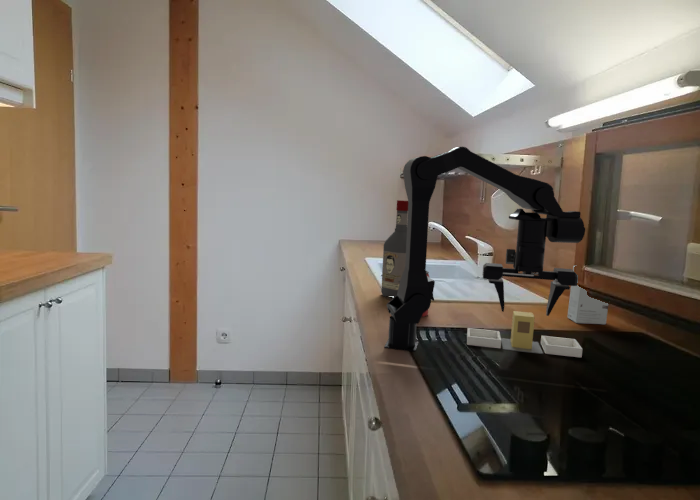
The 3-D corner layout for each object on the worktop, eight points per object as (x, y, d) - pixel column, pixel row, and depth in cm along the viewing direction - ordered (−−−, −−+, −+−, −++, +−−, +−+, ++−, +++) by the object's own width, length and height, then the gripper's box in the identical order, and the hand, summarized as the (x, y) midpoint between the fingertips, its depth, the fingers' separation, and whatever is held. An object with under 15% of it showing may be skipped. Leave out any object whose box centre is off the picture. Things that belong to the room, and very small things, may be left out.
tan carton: (531, 349, 103) (534, 317, 102) (512, 347, 104) (514, 315, 103) (529, 343, 107) (532, 312, 106) (510, 341, 108) (513, 310, 107)
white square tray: (581, 359, 99) (582, 348, 99) (545, 355, 101) (546, 344, 101) (574, 348, 106) (575, 339, 106) (540, 345, 108) (541, 335, 108)
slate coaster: (543, 355, 101) (543, 353, 101) (503, 351, 103) (503, 348, 102) (537, 344, 108) (537, 342, 108) (500, 340, 110) (500, 338, 110)
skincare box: (576, 323, 128) (581, 268, 126) (566, 317, 134) (571, 264, 132) (607, 325, 128) (614, 269, 126) (596, 319, 134) (602, 266, 132)
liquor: (395, 291, 159) (400, 200, 155) (417, 296, 153) (423, 201, 149) (377, 295, 152) (382, 199, 149) (400, 300, 146) (405, 201, 143)
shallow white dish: (500, 350, 103) (501, 340, 103) (466, 346, 105) (467, 336, 104) (498, 340, 110) (499, 331, 110) (466, 337, 112) (467, 327, 111)
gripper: (570, 241, 108) (563, 309, 110) (484, 235, 113) (479, 301, 114) (581, 246, 97) (574, 321, 99) (486, 240, 102) (480, 312, 104)
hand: (524, 313), depth 105 cm, fingers open, 9 cm apart
